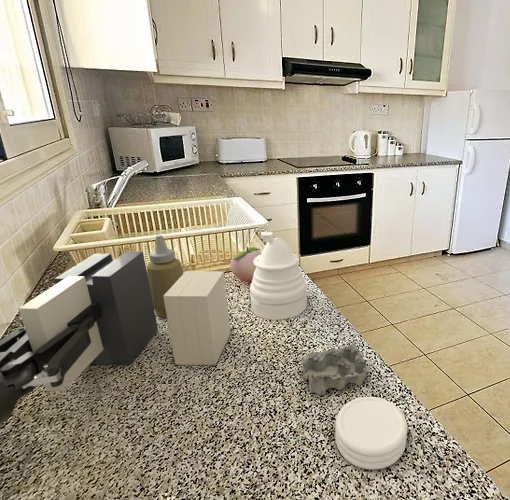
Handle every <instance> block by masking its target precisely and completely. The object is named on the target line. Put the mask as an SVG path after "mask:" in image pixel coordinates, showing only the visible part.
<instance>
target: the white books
mask: <svg viewBox="0 0 510 500" xmlns="http://www.w3.org/2000/svg"><path fill="white" fill-rule="evenodd" d="M183 273H184V274H183V275H182V276H181V277H180V278H179V279H178V280H177V282H176V283H175V284H174V285H173V286H172V287H171V288H170V289H169V290H168V291H167V292H166V294H165V295H164V296H163V298H164V303H165V309H166V314H167V318H166V319H167V325H168V331H169V336H170V343H171V347H172V353H173V359H174V364H175V366H181V365H182V366H216V365H217V363H218V361H219V359H220V357H221V355H222V353H223V350H224V348H225V346H226V344H227V342H228V340H229V337H230V336H231V333H232V332H231V324H230V323H231V322H230V315H229V313H230V312H229V306H228V305H229V304H228V295H227V286H226V278H225V277H226V276H225V271H223V270H221V271H219V270H218V271H217V270H215V271H214V270H186V271H185V272H183Z"/></svg>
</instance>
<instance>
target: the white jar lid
mask: <svg viewBox="0 0 510 500" xmlns="http://www.w3.org/2000/svg"><path fill="white" fill-rule="evenodd" d="M334 423H335V425H334V433H335V434H334V440H335V444H336V447H337V450H338V451H339V453H340V454H341V456H342V457H343V458H344V459H345V461H347V462H349V463H350V464H351V465H353V466H355V467H357V468H360V469H364V470H371V471H372V470H382V469H385V468H388V467H390V466H393V465H394V464H395V463H397V461H398V460H399V459H400V458H401V457H402V456H403V454H404V452H405V449H406V446H407V438H408V422H407V420H406V417H405V414H404V413H403V412H402V411H401V409H400V408H399V407H398V406H396V405H395V404H394V403H393V402H391V401H389V400H386V399H384V398H381V397H377V396H362V397H357V398H355V399H352V400H350V401H348V402H347V403H345V404H344V405H343V406H342V407H341V408H340V410H339V411H338V413H337V415H336V418H335V422H334Z"/></svg>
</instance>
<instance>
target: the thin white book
mask: <svg viewBox="0 0 510 500" xmlns="http://www.w3.org/2000/svg"><path fill="white" fill-rule="evenodd" d="M91 304H92V303H91V299H90V295H89V292H88V288H87V284H86V280H85V276H68V277H66V278H65V279H63V280H62V281H60V282H59V283H57V284H54V285H53V286H50V287H49V288H48V289H46V290H44V291H43V292H41V293H40V294H38V295H37V296H35V297H34V298H32V299H31V300H29V301H28V302H26V303H25V304H23V305H21V306H20V307H18V308H17V310H18V312H19V315H20V318H21V321H22V324H23V327H25V330H26V333H27V336H28V339H29V341H30V344H31V347H32V350H33V352H34V351H35V350H37V349H38V348H40V347H41V346H42V345H44V344H45V343H47V342H48V341H50V340H51V339H53V338H54V337H55V336H57V335H58V334H60V333H61V332H63V331H64V330H65V329H67V328H68V325H67V323H68V322H70V321H71V320H72V319H73V318H75V317H76V316H77V315H78V314H79V313H81V312H82V311H83V310H84V309H86V308H87V307H88V306H89V305H91ZM89 335H90V339H91V344H90V345H89V346H88V347H87V349H86V350H85V351H84V352H83V353H82V355H81V356H80V357H79V358H78V359H77V361H76V362H75V363H74V364H73V365H72V367H71V368H70V369H69V370H68V371H67V373H66V374H65V376H64V380H63V383H62V384H61V385H60V386H57V387H52V386H51V384H50V383H46V384H43V385H44V388H45V391H46V392H65V391H66V390H67V389H68V388H69V387H70V386H71V385H72V383H73V382H75V381H76V379H77V378H78V377H79V376H80V375H81V374H82V373H83V372H84V371H85V370H86V369H87V368H88V367H89V366H90V365H89V364H90V363H91V362H92V361H93V360H94V359H95V358H96V357H97V356H98V355H99V354H100V353H101V352H102V351H103V346H102V342H101V338H100V334H99V330H98V326H97V322H95V323H94V326H93V327H92V328H91V329H90V330H89Z"/></svg>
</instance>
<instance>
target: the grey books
mask: <svg viewBox="0 0 510 500" xmlns="http://www.w3.org/2000/svg"><path fill="white" fill-rule="evenodd" d="M68 276H85V280H86V284H87V288H88V292H89V295H90V299H91V303H93V302H98V303H99V306H100V310H101V314H102V316H101V317H100V318H99V319H98V320H97V321H96V322H97V326H98V330H99V334H100V338H101V342H102V346H103V351H102V352H101V353H100V354H99V355H98V356H97V357H96V358H95V359H94V360H93V361H92V362H91V363H90V364H89V365H88V366H102V365H104V366H131V365H132V364H133V362H135V360H136V358H137V357H138V356H139V355H140V353H142V351H143V350H144V348H145V347H146V346H147V345H148V344H149V342H150V341H151V340H152V338H153V337H154V336H155V335H156V334H157V332H158V331H159V329H158V322H157V318H156V311H155V310H154V307H153V301H152V296H151V291H150V286H149V281H148V275H147V265H146V261H145V254H144V251H134V250H133V251H132V250H129V251H125V252H123V253H122V254H121V255H120V256H118V257H117V258H113V256H112V253H94V254H92V255H90V256H89V257H87V258H86V259H84V260H82V261H81V262H78V263H77V264H75V265H74V266H73V267H70V268H69V269H67V270H66V271H64V272H62V273H61V274H60V275H58V276H56V277H54V278H53V281H54V285H56V284H57V283H59V282H60V281H62V280H63V279H65V278H66V277H68Z"/></svg>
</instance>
